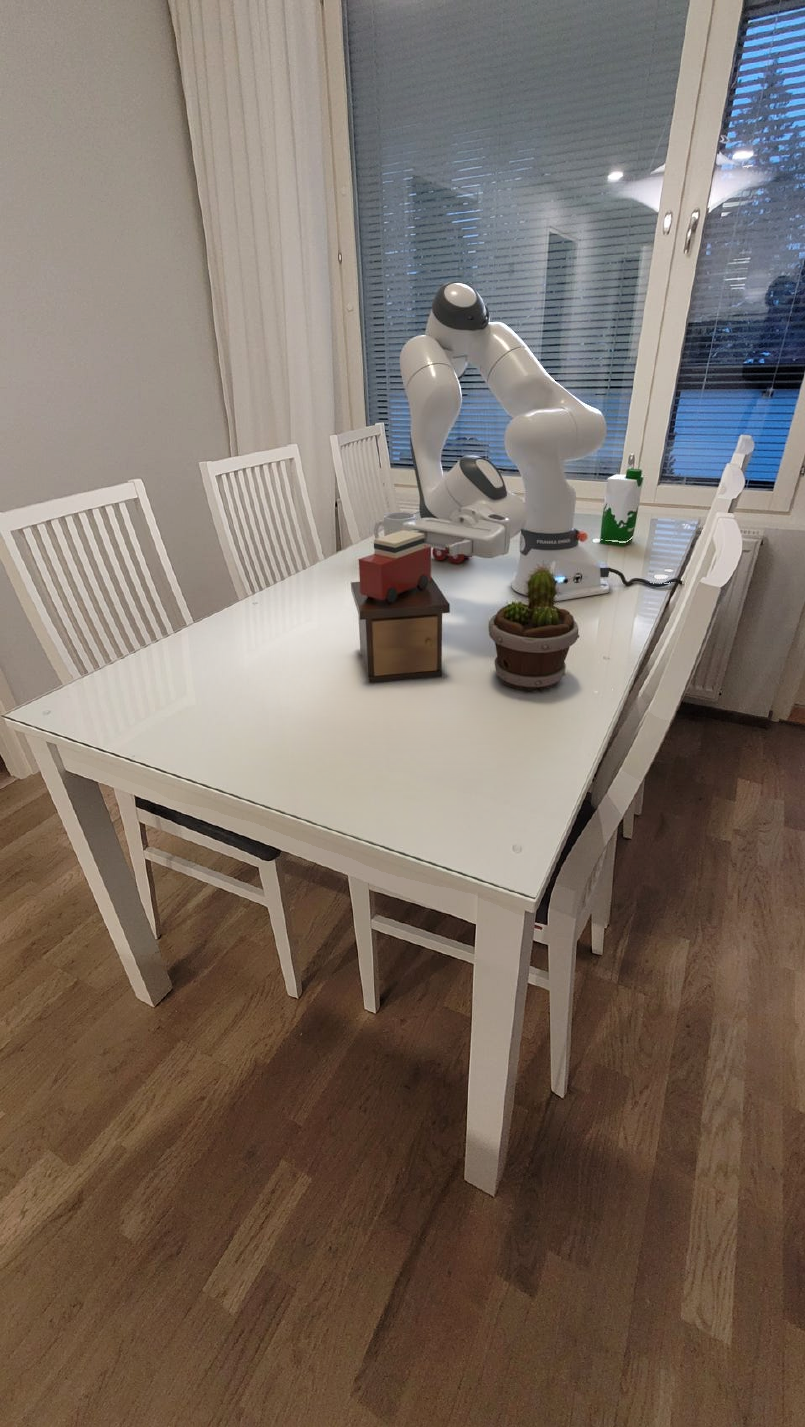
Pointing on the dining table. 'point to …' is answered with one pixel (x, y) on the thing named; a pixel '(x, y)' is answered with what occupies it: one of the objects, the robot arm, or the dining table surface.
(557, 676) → the flowerpot
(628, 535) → the milk carton
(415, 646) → the cabinet
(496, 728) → the dining table surface
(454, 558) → the toy fire truck
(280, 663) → the dining table surface
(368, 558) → the car
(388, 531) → the mug
